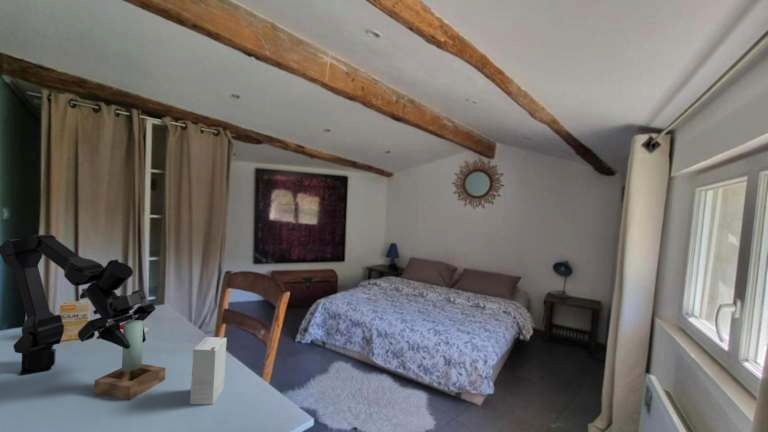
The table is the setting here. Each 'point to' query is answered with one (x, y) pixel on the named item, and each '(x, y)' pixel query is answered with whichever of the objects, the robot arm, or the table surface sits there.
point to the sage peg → (132, 345)
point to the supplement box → (74, 318)
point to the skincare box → (208, 370)
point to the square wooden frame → (129, 382)
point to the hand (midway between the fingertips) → (136, 344)
